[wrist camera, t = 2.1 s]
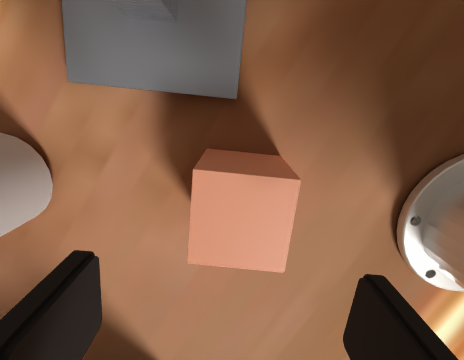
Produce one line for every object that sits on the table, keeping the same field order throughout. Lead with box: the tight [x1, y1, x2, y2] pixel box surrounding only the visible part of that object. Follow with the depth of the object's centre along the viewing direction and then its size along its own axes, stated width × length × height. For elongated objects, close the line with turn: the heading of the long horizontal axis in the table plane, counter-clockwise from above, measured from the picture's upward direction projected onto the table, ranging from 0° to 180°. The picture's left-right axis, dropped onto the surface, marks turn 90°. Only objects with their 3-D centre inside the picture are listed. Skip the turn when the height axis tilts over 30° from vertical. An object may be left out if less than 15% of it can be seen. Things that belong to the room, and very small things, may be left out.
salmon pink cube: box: [188, 148, 301, 273], centre depth 19 cm, size 6×6×7 cm
